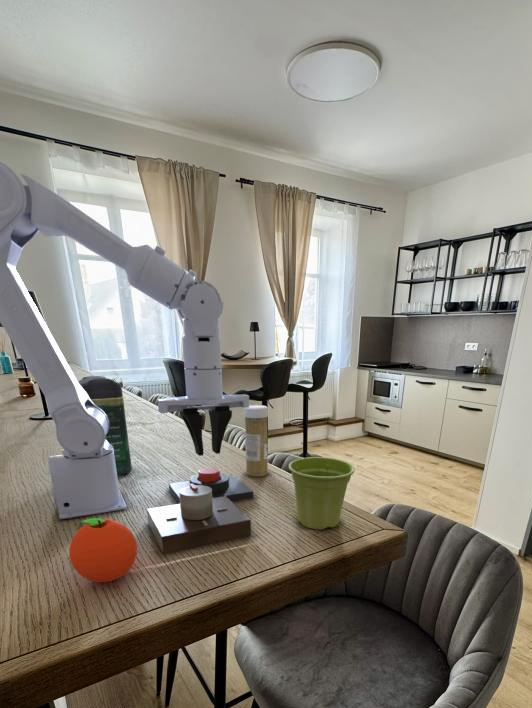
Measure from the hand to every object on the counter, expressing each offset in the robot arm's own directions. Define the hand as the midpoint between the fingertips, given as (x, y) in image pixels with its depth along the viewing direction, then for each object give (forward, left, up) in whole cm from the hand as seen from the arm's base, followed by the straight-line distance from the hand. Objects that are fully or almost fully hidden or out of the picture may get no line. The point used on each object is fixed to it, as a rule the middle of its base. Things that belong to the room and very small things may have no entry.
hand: (208, 453), depth 69 cm
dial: (-6, -13, -5) cm, 15 cm away
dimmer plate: (-6, -13, -7) cm, 16 cm away
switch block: (0, 0, -7) cm, 7 cm away
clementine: (-19, -20, -8) cm, 29 cm away
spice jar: (+12, +7, -8) cm, 16 cm away
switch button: (0, 0, -5) cm, 5 cm away
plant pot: (+11, -18, -8) cm, 22 cm away
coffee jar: (-14, +21, -8) cm, 26 cm away
